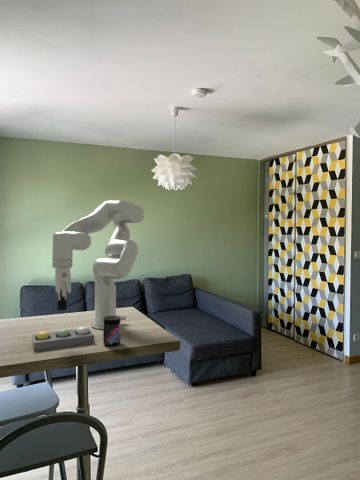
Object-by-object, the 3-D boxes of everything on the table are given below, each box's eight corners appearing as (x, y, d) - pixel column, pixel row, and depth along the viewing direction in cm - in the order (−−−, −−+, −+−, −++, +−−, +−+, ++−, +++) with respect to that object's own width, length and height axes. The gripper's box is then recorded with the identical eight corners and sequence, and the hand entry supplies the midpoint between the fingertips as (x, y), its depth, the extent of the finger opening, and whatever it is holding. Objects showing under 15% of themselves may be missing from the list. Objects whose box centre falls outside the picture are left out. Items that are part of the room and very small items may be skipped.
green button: (68, 334, 141) (68, 328, 141) (69, 337, 137) (69, 331, 137) (56, 335, 139) (56, 329, 139) (58, 338, 135) (58, 332, 135)
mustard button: (48, 336, 138) (48, 330, 137) (49, 340, 134) (49, 333, 134) (36, 338, 136) (36, 331, 136) (37, 341, 132) (37, 335, 132)
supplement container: (102, 347, 133) (102, 320, 132) (103, 341, 139) (103, 315, 139) (120, 346, 134) (120, 319, 133) (120, 340, 140) (120, 315, 140)
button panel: (88, 334, 148) (88, 327, 148) (94, 342, 138) (94, 335, 138) (32, 341, 138) (32, 334, 138) (34, 351, 128) (34, 343, 128)
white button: (86, 331, 144) (86, 326, 144) (89, 335, 140) (89, 328, 140) (75, 333, 142) (75, 327, 142) (77, 336, 138) (77, 330, 138)
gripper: (75, 265, 132) (74, 313, 132) (69, 261, 145) (68, 305, 145) (54, 265, 128) (53, 314, 129) (50, 262, 142) (49, 306, 142)
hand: (61, 309), depth 137 cm, fingers closed
